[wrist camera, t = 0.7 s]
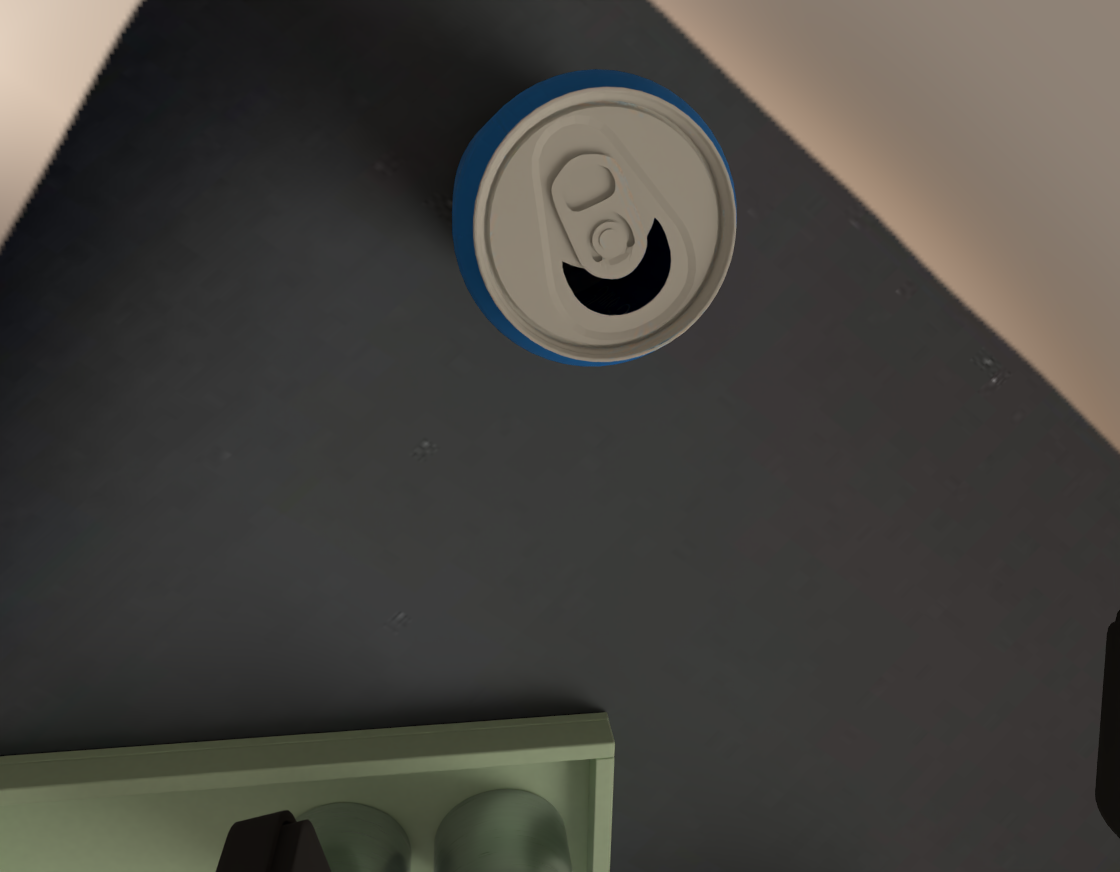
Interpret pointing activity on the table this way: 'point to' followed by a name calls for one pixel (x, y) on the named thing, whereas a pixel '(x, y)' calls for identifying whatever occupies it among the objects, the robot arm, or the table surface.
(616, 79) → the beverage can
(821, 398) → the table surface
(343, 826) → the can
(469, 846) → the can
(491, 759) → the tray
